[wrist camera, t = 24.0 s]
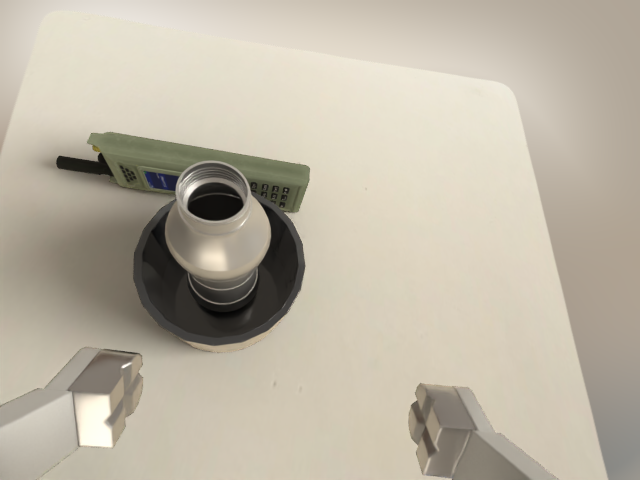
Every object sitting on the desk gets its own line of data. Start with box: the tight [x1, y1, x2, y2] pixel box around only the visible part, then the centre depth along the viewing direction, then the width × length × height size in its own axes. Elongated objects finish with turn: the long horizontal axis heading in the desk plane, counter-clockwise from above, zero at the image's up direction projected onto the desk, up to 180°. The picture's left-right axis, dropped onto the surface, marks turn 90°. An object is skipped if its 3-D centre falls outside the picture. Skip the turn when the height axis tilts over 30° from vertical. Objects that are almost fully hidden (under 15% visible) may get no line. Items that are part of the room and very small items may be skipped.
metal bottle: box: [165, 161, 271, 312], centre depth 27 cm, size 6×7×20 cm
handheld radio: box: [56, 132, 310, 212], centre depth 37 cm, size 7×3×25 cm
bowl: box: [133, 192, 305, 353], centre depth 33 cm, size 13×13×9 cm
